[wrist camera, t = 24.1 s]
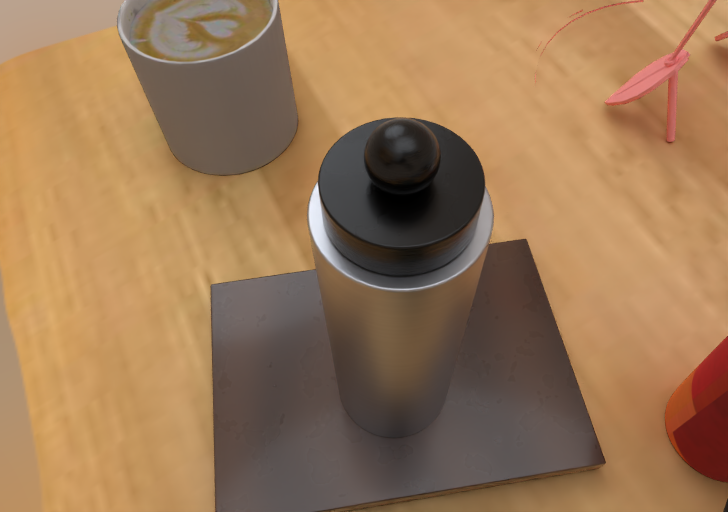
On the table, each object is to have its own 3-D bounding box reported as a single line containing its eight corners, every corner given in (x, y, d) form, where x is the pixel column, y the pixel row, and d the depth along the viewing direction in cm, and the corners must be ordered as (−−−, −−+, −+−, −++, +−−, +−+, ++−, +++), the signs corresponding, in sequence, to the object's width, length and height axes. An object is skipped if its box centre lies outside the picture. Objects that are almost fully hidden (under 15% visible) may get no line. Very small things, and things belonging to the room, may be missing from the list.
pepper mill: (466, 370, 34) (554, 107, 16) (409, 461, 31) (441, 262, 14) (378, 315, 35) (374, 29, 18) (317, 397, 33) (246, 154, 16)
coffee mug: (321, 139, 44) (306, 24, 36) (197, 196, 42) (150, 87, 33) (244, 39, 51) (216, -80, 42) (132, 84, 48) (78, -33, 40)
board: (522, 248, 39) (526, 238, 38) (599, 468, 32) (606, 463, 31) (214, 293, 38) (210, 284, 37) (220, 532, 31) (215, 529, 30)
